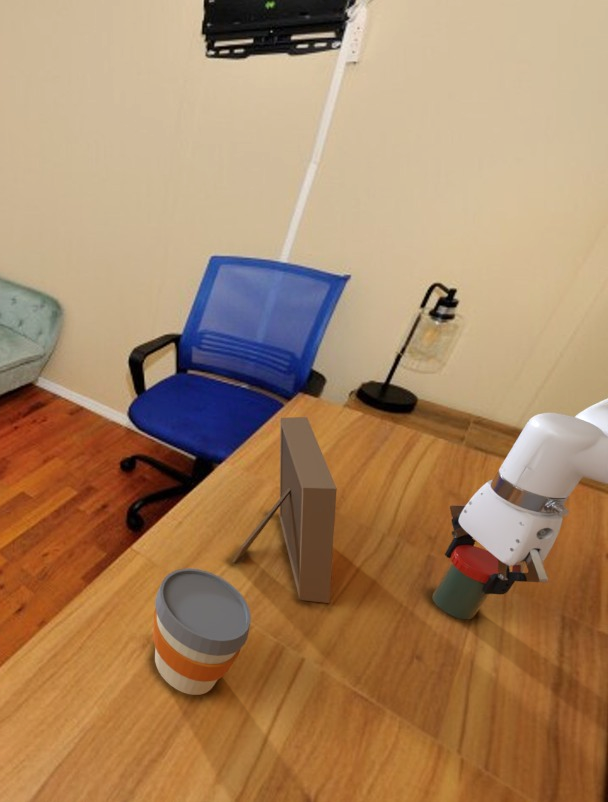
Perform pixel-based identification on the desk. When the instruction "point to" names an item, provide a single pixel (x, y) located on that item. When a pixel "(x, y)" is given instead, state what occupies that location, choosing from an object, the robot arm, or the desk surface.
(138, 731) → the desk surface
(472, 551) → the jam lid
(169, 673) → the reusable coffee cup
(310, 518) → the photo frame
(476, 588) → the jam jar
